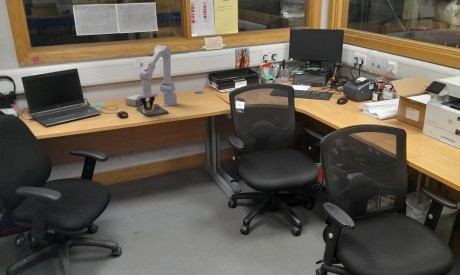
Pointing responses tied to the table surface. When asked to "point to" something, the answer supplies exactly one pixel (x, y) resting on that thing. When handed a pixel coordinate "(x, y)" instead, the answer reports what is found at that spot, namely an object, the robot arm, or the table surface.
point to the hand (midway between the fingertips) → (148, 107)
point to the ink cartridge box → (133, 100)
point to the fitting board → (157, 112)
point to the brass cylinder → (148, 105)
